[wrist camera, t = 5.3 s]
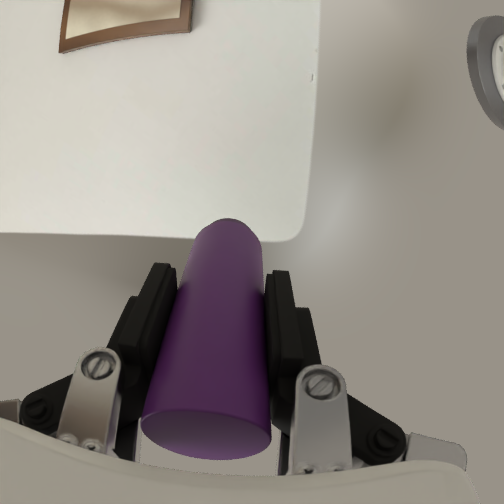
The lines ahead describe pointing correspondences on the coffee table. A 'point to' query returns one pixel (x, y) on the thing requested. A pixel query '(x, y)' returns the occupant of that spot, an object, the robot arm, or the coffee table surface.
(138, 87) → the coffee table surface
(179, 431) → the marker
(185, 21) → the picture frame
